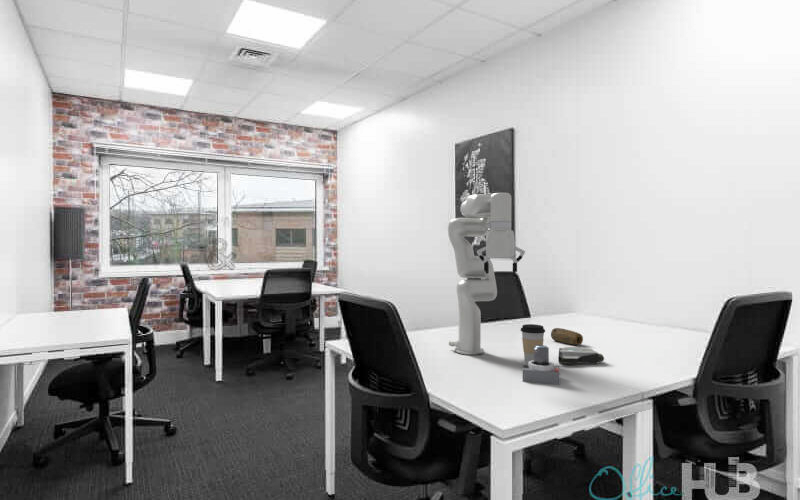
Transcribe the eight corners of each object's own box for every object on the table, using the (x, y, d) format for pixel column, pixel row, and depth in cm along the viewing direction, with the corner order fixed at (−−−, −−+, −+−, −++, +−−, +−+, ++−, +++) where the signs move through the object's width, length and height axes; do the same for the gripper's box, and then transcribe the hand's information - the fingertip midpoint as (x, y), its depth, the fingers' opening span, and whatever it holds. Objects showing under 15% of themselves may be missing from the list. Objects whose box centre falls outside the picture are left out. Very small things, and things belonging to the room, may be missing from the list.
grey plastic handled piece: (608, 364, 187) (608, 351, 187) (562, 367, 181) (562, 354, 181) (581, 355, 202) (581, 343, 202) (539, 358, 197) (539, 345, 197)
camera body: (522, 381, 163) (522, 364, 163) (523, 374, 172) (523, 358, 171) (559, 384, 159) (559, 367, 159) (558, 377, 168) (558, 361, 168)
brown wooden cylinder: (548, 341, 230) (548, 328, 230) (557, 340, 234) (557, 326, 234) (576, 347, 218) (576, 332, 218) (584, 345, 222) (584, 331, 222)
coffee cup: (532, 368, 180) (532, 328, 180) (515, 362, 189) (515, 325, 188) (550, 365, 185) (550, 326, 184) (533, 360, 193) (533, 323, 193)
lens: (533, 368, 164) (532, 347, 164) (534, 365, 169) (534, 344, 169) (548, 369, 162) (547, 348, 162) (549, 366, 167) (549, 345, 167)
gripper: (475, 226, 172) (475, 273, 172) (524, 226, 167) (524, 274, 167) (478, 227, 179) (478, 272, 179) (525, 227, 174) (525, 273, 174)
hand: (500, 273), depth 173 cm, fingers open, 9 cm apart
